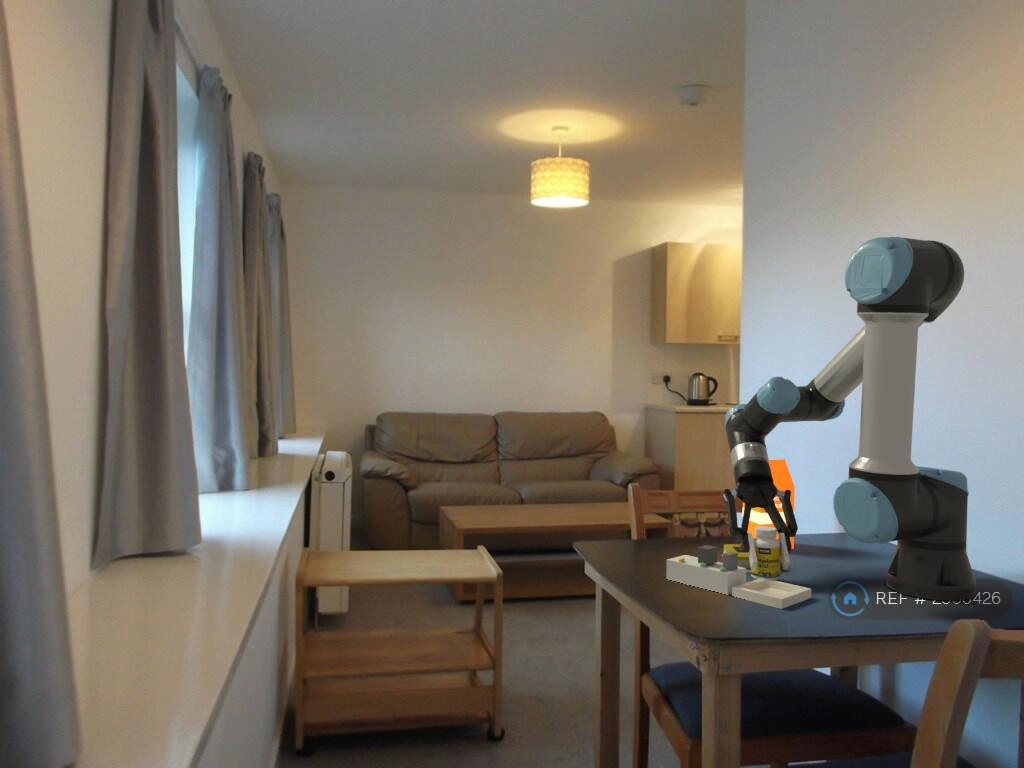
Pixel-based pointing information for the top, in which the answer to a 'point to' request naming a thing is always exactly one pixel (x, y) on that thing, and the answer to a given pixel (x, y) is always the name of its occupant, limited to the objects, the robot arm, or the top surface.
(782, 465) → the orange juice
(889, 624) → the top surface
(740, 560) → the emergency button
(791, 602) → the shallow cream rectangular tray
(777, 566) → the supplement bottle
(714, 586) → the long low white box
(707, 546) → the switch
